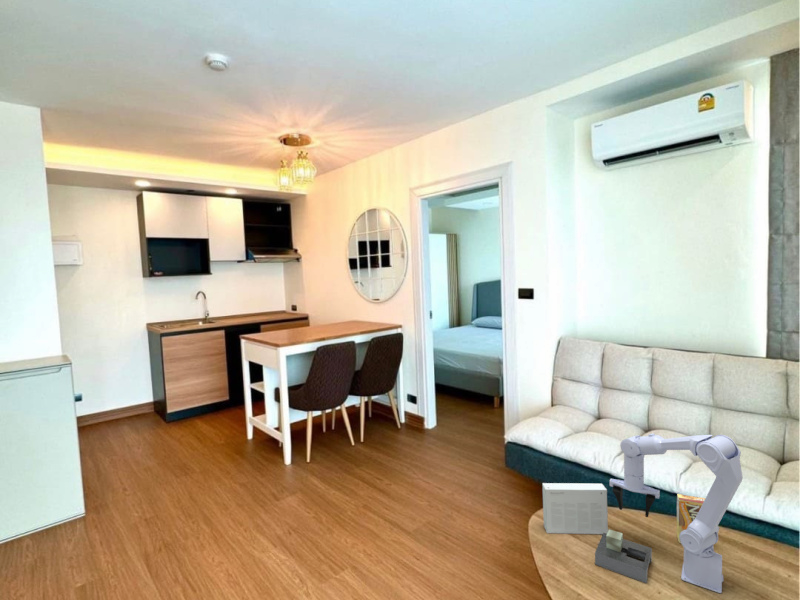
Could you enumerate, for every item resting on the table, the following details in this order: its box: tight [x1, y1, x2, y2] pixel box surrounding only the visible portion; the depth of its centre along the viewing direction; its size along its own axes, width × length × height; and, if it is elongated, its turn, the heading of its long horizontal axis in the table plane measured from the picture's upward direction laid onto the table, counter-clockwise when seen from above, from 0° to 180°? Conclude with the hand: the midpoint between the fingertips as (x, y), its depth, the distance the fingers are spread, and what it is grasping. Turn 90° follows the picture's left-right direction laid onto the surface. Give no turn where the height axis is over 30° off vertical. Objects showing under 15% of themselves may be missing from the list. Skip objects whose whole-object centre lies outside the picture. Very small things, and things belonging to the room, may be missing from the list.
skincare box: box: [542, 482, 609, 535], centre depth 149 cm, size 21×6×16 cm, turn 84°
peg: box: [606, 528, 624, 552], centre depth 133 cm, size 4×4×7 cm
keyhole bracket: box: [594, 533, 653, 584], centre depth 131 cm, size 14×12×4 cm
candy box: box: [676, 493, 706, 544], centre depth 139 cm, size 9×4×15 cm, turn 67°
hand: (633, 511), depth 141 cm, fingers open, 7 cm apart
